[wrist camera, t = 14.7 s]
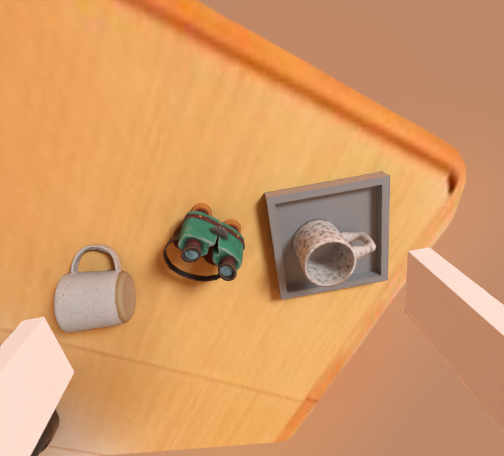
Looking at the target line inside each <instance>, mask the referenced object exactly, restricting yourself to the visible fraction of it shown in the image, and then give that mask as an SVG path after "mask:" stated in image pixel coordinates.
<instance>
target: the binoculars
mask: <svg viewBox="0 0 504 456" xmlns="http://www.w3.org/2000/svg"><path fill="white" fill-rule="evenodd" d="M181 223H182V224H181V227H180V228H178V229H177V230H176V231H175V233H174V236H173V237H171V239H170V241H169V242H168V243H167V245H166V247H165V249H164V251H163V255H164V260H165V262H166V263H167V265H168V266H169V268H170V269H171V270H172V271H174V272H175V273H177V274H178V275H180V276H183V277H185V278H188V279H192V280H196V281H212V280H217V279H219V278H222V279H223V280H226V281H231V280H233V279H235V277H236V275H237V270H238V269H239V268H240V266H241V264H242V256H243V250H244V248H245V244H244V239H243V237H242V235H241V234H240V233H241V226H240V224H239V223H238V222H237V221H236V220H233V219H230V220H227V221H225V222H224V223H223V222H221V223H220V221H219V220H217V219H216V218H214V217H212V211H211V209H210V207H209V206H208V205H206V204H202V203H200V204H197V205H195V206H194V207H193V209H192V211H190V212H188V213H187V214H186V216H185V218H184V220H183V221H182V222H181ZM219 223H220V224H219ZM172 242H174V245H175V246H176V247H177V248H179V249H180V250H182V253H181V258H182V260H183V261H185V262H195V261H197V260H198V259H199V258H200V257H201V256H203V257H204V259H205V260H206V261H207V262H208V263H210V264H213V265H217V266H218V274H217V275H212V276H198V275H194V274H190V273H187V272H184V271H182V270H180V269H178V268H177V267H175V266H174V265H173V264H172V263H171V262H170V260H169V258H168V257H167V255H166V248H167V246H168V245H170V244H171V243H172Z"/></svg>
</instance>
